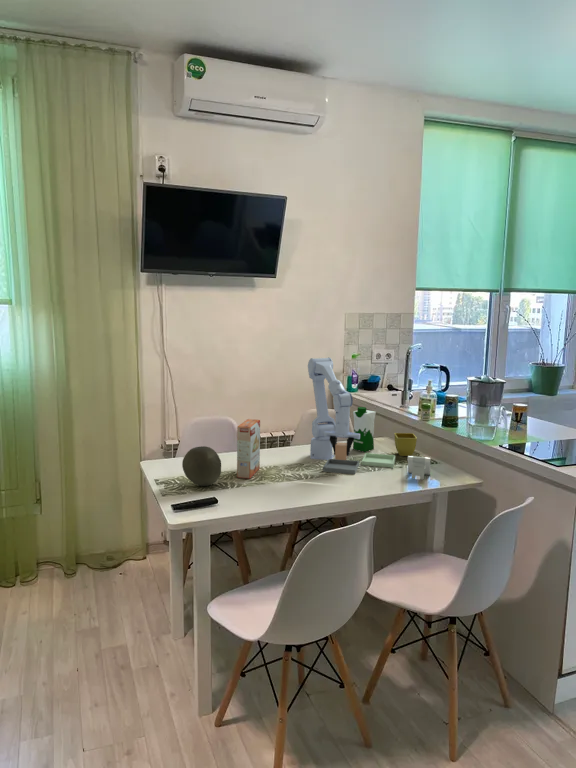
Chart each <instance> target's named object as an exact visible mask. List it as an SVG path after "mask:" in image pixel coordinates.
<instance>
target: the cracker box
mask: <svg viewBox="0 0 576 768" xmlns="http://www.w3.org/2000/svg"><path fill="white" fill-rule="evenodd" d="M236 429H237V430H236V434H237V435H236V439H237V440H236V442H237V443H236V455H237V456H236V461H237V462H236V478H237V479H238V478H239V479H251V478H252V477H253V476H254V475H255V474H256V473H257V472H258V471H259V470H260V468H261V467H260V463H261V460H260V456H261V452H260V451H261V450H260V449H261V448H260V447H261V419H252V418H248V419H245V420H244V421H243V422H241V423H240V424H239V425H237V427H236Z"/></svg>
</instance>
